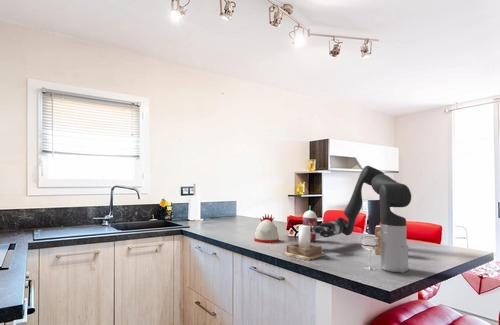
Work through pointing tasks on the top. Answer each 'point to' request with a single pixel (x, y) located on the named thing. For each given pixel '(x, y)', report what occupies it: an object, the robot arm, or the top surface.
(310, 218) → the smoothie
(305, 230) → the paper roll
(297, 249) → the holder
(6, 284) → the top surface
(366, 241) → the wineglass
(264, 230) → the kitchen timer
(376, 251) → the small box
